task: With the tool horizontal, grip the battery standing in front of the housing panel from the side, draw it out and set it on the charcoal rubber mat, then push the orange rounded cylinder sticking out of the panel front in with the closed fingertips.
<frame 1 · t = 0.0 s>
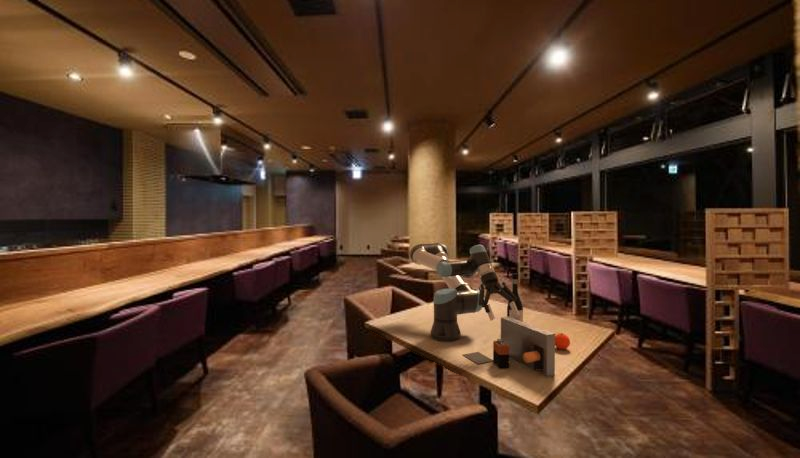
hand: (505, 317, 161), 15 cm above the table, tool tilted 35°, fingers open, 13 cm apart
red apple: (560, 348, 165), on the table
orange rounded cylinder: (531, 356, 137), point 7 cm above the table, slide at 0.0 cm
mat: (478, 358, 154), on the table
wine bottle: (514, 330, 193), on the table
battery: (501, 366, 147), on the table
housing panel: (525, 363, 148), on the table
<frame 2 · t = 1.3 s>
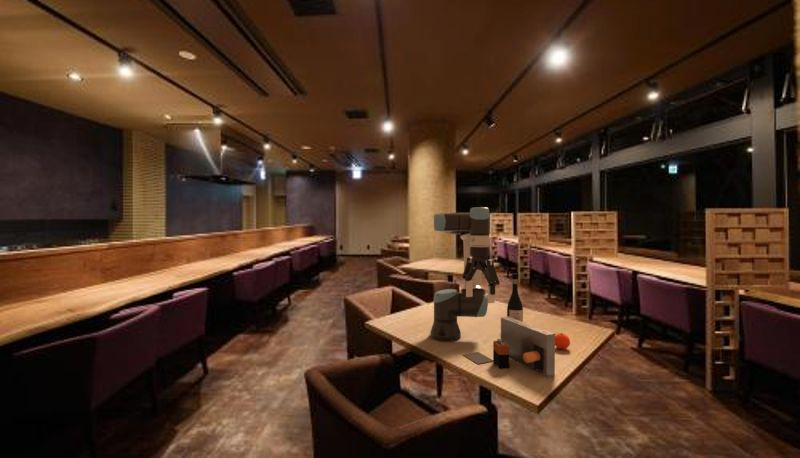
hand: (479, 299, 144), 27 cm above the table, tool pointing down, fingers open, 13 cm apart
nothing on the table moved.
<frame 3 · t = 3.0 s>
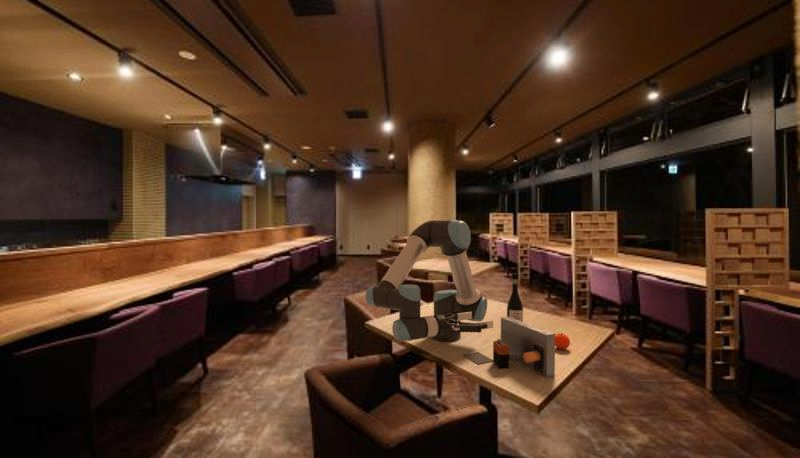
hand: (481, 319, 142), 20 cm above the table, tool horizontal, fingers open, 13 cm apart
nothing on the table moved.
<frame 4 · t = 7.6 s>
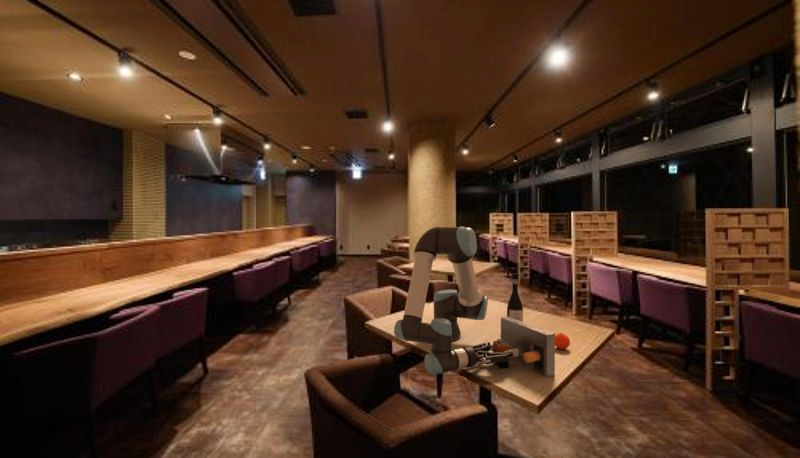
hand: (510, 348, 148), 6 cm above the table, tool horizontal, fingers closed on battery, 7 cm apart
battery: (501, 365, 147), on the table, touching gripper
everything else where it was.
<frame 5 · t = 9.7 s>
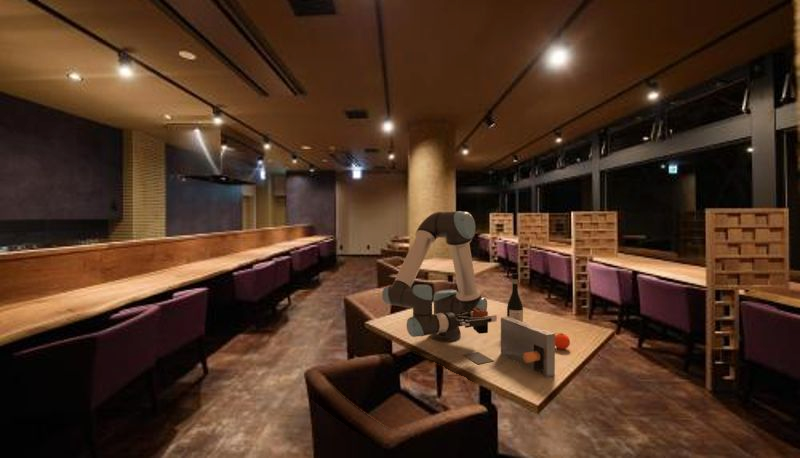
hand: (489, 315, 155), 18 cm above the table, tool horizontal, fingers closed on battery, 7 cm apart
battery: (480, 331, 153), point 12 cm above the table, touching gripper
everything else where it was.
when the fingers open (8 cm above the table, at t = 12.1 s): battery drops 1 cm, resting on mat.
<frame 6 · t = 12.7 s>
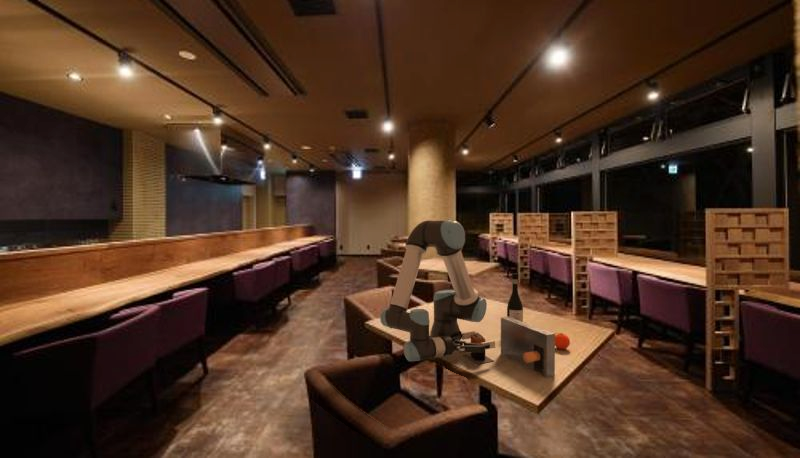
hand: (484, 339, 155), 8 cm above the table, tool horizontal, fingers open, 13 cm apart
battery: (477, 358, 154), resting on mat
everything else where it was.
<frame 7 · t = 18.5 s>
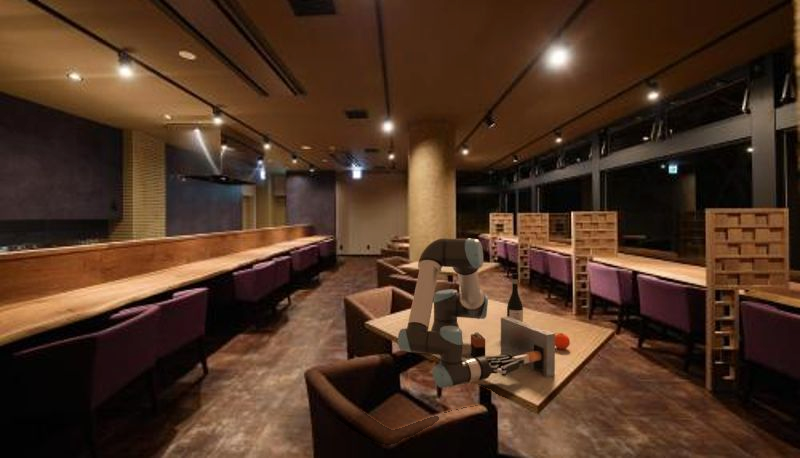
hand: (527, 358, 136), 7 cm above the table, tool horizontal, fingers closed
orange rounded cylinder: (532, 356, 138), point 7 cm above the table, slide at 0.6 cm, touching gripper
everything else where it was.
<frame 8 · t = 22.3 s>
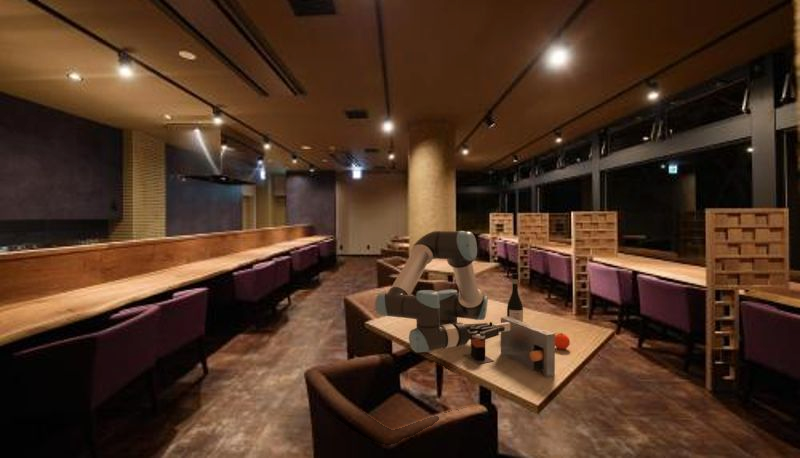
hand: (508, 326, 132), 20 cm above the table, tool horizontal, fingers closed
orange rounded cylinder: (538, 355, 139), point 7 cm above the table, slide at 3.3 cm
everything else where it was.
at the end: orange rounded cylinder slide at 3.3 cm; battery inside the target area on the mat (0.1 cm from its centre), point 0.1 cm above the mat's base; battery tilted 0° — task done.
